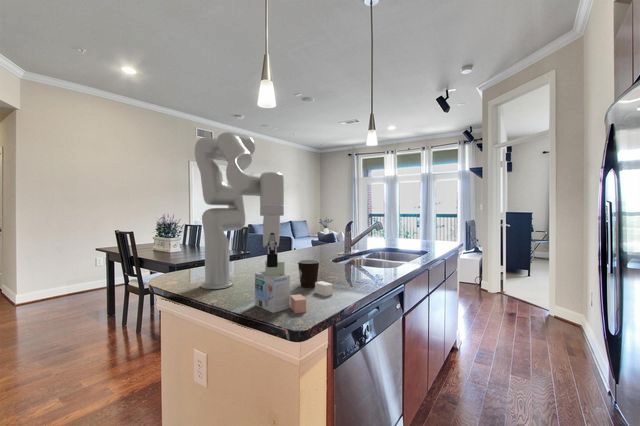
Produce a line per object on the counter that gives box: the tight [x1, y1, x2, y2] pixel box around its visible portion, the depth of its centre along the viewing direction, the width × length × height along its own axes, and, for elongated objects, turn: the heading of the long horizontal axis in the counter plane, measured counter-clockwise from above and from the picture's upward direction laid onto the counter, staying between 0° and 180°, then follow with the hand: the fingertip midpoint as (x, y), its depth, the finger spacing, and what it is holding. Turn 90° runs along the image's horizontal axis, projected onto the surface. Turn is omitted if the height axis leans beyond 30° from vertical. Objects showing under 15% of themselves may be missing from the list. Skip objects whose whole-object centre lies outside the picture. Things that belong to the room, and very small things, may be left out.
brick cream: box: [314, 280, 334, 297], centre depth 115 cm, size 6×4×4 cm, turn 39°
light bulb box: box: [254, 271, 291, 314], centre depth 100 cm, size 11×7×11 cm, turn 44°
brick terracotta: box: [289, 293, 307, 314], centre depth 97 cm, size 6×4×4 cm, turn 21°
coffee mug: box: [297, 259, 320, 289], centre depth 127 cm, size 12×9×10 cm
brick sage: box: [264, 259, 285, 275], centre depth 99 cm, size 6×4×4 cm, turn 99°
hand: (272, 264), depth 99 cm, fingers open, 9 cm apart
